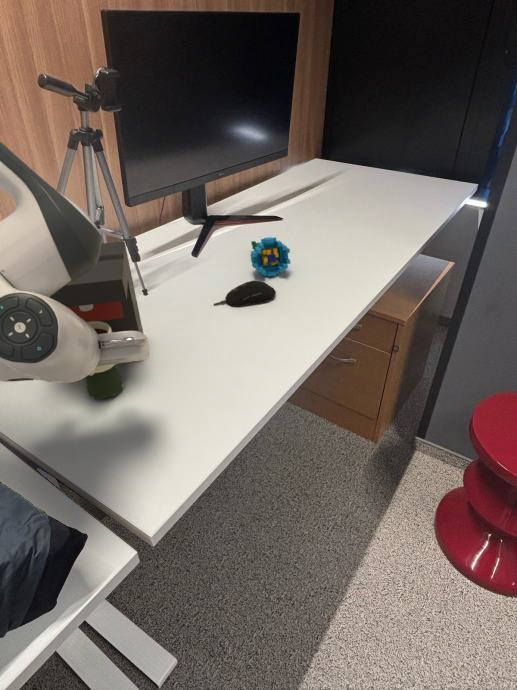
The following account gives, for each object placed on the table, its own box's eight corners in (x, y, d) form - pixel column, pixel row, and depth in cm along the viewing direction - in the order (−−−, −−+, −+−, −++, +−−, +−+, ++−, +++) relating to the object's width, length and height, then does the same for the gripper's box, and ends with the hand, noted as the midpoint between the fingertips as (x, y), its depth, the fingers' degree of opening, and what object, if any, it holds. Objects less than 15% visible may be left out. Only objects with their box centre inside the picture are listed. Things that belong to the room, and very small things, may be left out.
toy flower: (273, 260, 134) (291, 275, 118) (242, 264, 132) (256, 280, 116) (271, 227, 131) (290, 238, 114) (239, 231, 129) (253, 242, 113)
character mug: (91, 372, 92) (73, 315, 84) (128, 369, 92) (115, 312, 84) (80, 413, 83) (60, 354, 75) (122, 409, 84) (106, 351, 76)
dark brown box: (66, 393, 87) (29, 289, 74) (74, 347, 98) (43, 249, 85) (144, 382, 89) (122, 279, 76) (144, 338, 100) (124, 241, 87)
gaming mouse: (210, 298, 112) (209, 283, 110) (270, 287, 116) (270, 272, 113) (217, 312, 107) (215, 297, 105) (279, 300, 111) (279, 285, 108)
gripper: (142, 315, 65) (152, 332, 78) (-20, 334, 62) (20, 348, 75) (147, 361, 64) (156, 370, 77) (-16, 383, 61) (23, 388, 75)
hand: (88, 359), depth 76 cm, fingers open, 8 cm apart
